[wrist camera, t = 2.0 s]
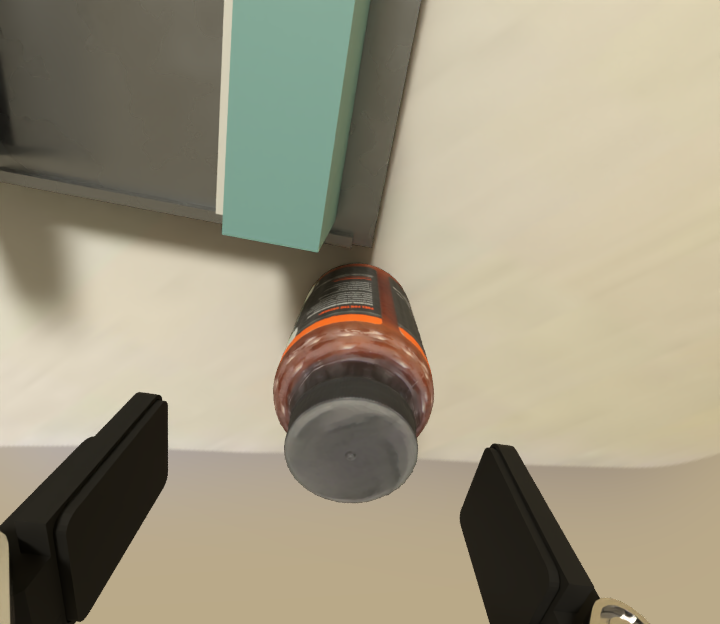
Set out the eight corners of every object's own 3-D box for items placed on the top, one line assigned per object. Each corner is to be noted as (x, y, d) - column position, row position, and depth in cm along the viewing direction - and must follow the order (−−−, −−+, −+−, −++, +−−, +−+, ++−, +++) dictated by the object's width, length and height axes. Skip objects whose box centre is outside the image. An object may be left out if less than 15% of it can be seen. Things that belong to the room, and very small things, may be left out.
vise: (440, -105, 15) (522, -398, 7) (371, 243, 20) (374, 292, 12) (-182, -258, 13) (-917, -824, 6) (-82, 156, 18) (-397, 151, 11)
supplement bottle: (284, 301, 21) (202, 438, 11) (367, 238, 20) (369, 323, 9) (348, 373, 23) (334, 553, 12) (429, 320, 21) (490, 471, 11)
